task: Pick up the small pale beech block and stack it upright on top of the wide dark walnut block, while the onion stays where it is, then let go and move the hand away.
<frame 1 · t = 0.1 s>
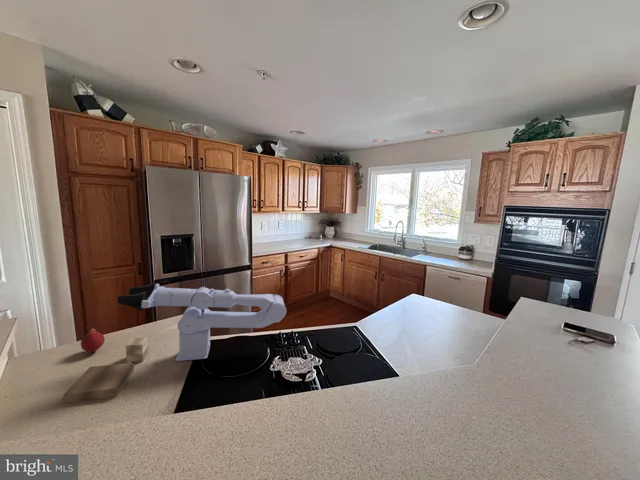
hand: (124, 295, 79), 22 cm above the countertop, tool horizontal, fingers open, 7 cm apart
beech block: (137, 358, 83), on the countertop
onion: (93, 352, 85), on the countertop
walnut block: (102, 386, 70), on the countertop
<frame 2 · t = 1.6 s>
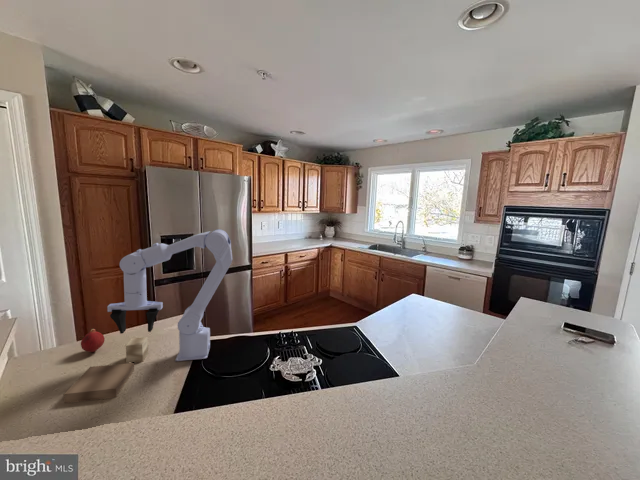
hand: (136, 331, 82), 9 cm above the countertop, tool pointing down, fingers open, 7 cm apart
nothing on the countertop moved.
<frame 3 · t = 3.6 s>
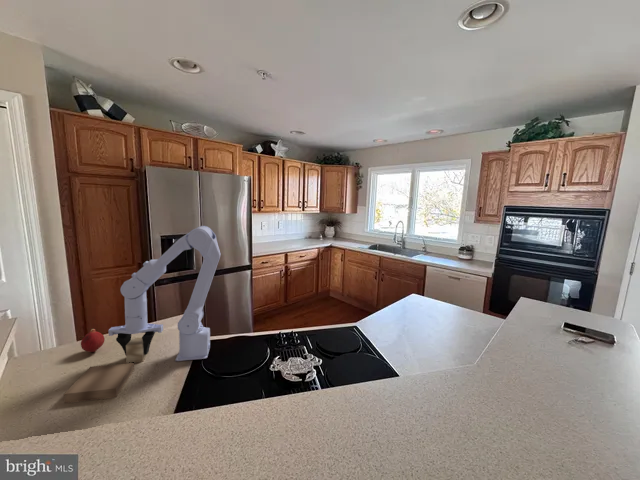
hand: (137, 353, 83), 2 cm above the countertop, tool pointing down, fingers closed on beech block, 4 cm apart
beech block: (137, 358, 83), on the countertop, touching gripper
everything else where it was.
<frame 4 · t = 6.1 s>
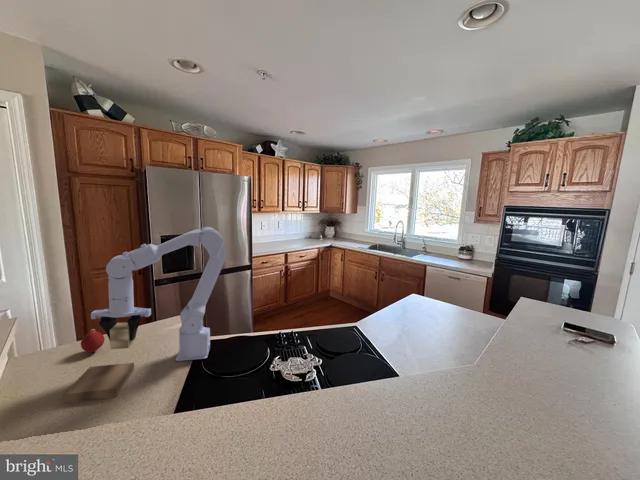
hand: (123, 339, 76), 9 cm above the countertop, tool pointing down, fingers closed on beech block, 4 cm apart
beech block: (123, 344, 77), point 8 cm above the countertop, touching gripper
everything else where it was.
when the fingers open (6 cm above the countertop, at t = 8.8 s): beech block drops 2 cm, resting on walnut block.
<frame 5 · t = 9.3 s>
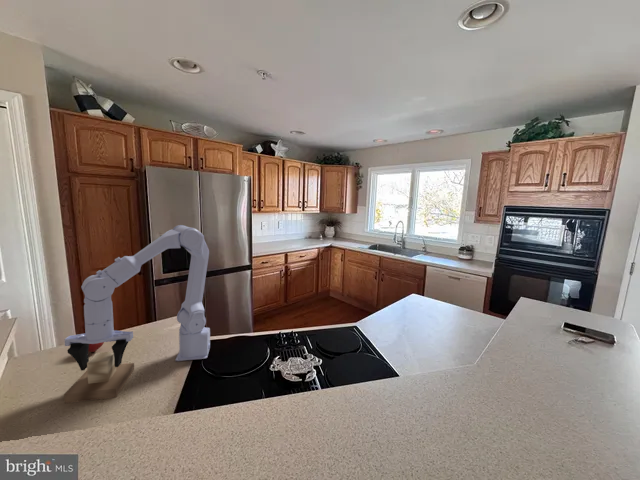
hand: (101, 366, 70), 6 cm above the countertop, tool pointing down, fingers open, 7 cm apart
beech block: (102, 376, 70), point 2 cm above the countertop, touching walnut block
walnut block: (102, 387, 70), on the countertop, touching beech block
everything else where it was.
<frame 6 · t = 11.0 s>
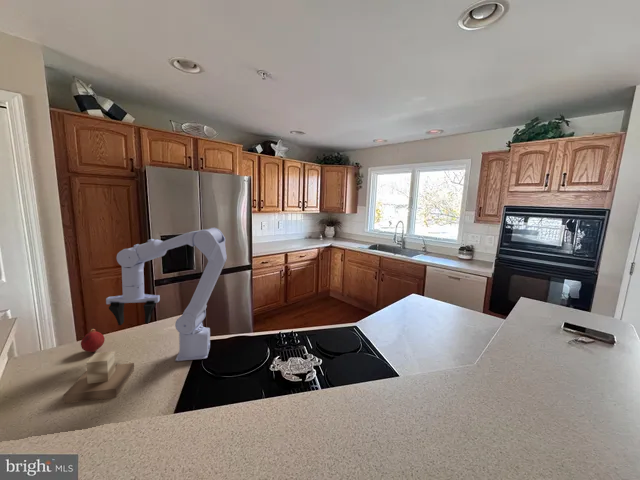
hand: (134, 323, 85), 10 cm above the countertop, tool pointing down, fingers open, 7 cm apart
nothing on the countertop moved.
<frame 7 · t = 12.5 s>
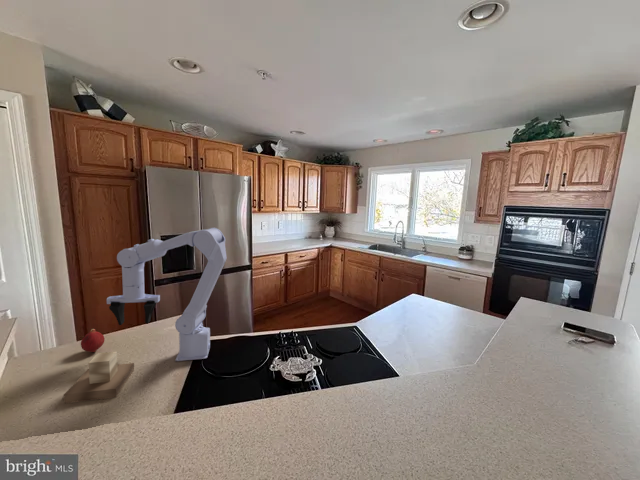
hand: (134, 323, 85), 10 cm above the countertop, tool pointing down, fingers open, 7 cm apart
nothing on the countertop moved.
at the end: beech block inside the target area on the walnut block (0.5 cm from its centre), point 3.0 cm above the walnut block's base; beech block touching walnut block; beech block tilted 0° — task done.
